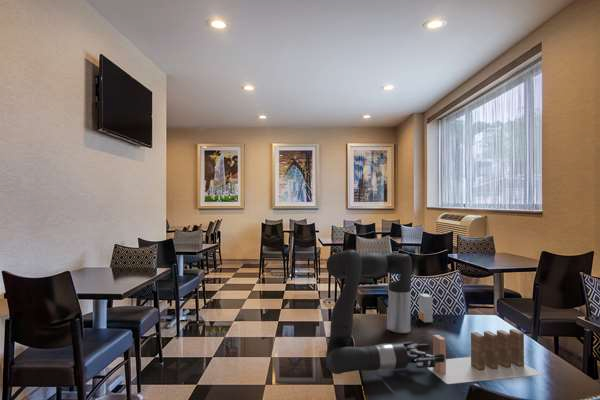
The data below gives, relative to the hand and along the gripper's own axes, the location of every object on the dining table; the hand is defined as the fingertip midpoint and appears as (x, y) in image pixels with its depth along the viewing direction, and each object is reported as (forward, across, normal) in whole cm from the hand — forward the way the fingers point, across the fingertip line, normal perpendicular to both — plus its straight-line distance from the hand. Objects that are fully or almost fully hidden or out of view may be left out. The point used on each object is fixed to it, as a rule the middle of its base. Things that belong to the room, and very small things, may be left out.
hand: (436, 352), depth 116 cm
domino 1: (+15, 0, +6) cm, 16 cm away
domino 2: (+20, 0, +6) cm, 21 cm away
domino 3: (+25, 0, +6) cm, 26 cm away
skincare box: (+26, +50, +7) cm, 57 cm away
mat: (+15, 0, +7) cm, 17 cm away
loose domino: (+1, 0, +6) cm, 6 cm away
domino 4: (+30, 0, +6) cm, 31 cm away
